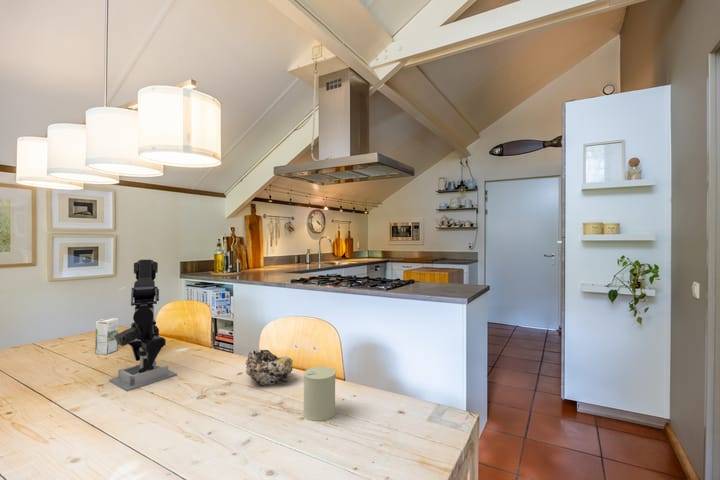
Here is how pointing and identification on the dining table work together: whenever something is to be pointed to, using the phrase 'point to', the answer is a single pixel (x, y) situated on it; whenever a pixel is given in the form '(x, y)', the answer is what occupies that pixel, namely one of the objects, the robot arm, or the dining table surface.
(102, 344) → the syrup box
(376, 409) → the dining table surface
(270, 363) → the mineral specimen
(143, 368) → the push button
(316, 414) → the can
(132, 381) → the dock
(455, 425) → the dining table surface
